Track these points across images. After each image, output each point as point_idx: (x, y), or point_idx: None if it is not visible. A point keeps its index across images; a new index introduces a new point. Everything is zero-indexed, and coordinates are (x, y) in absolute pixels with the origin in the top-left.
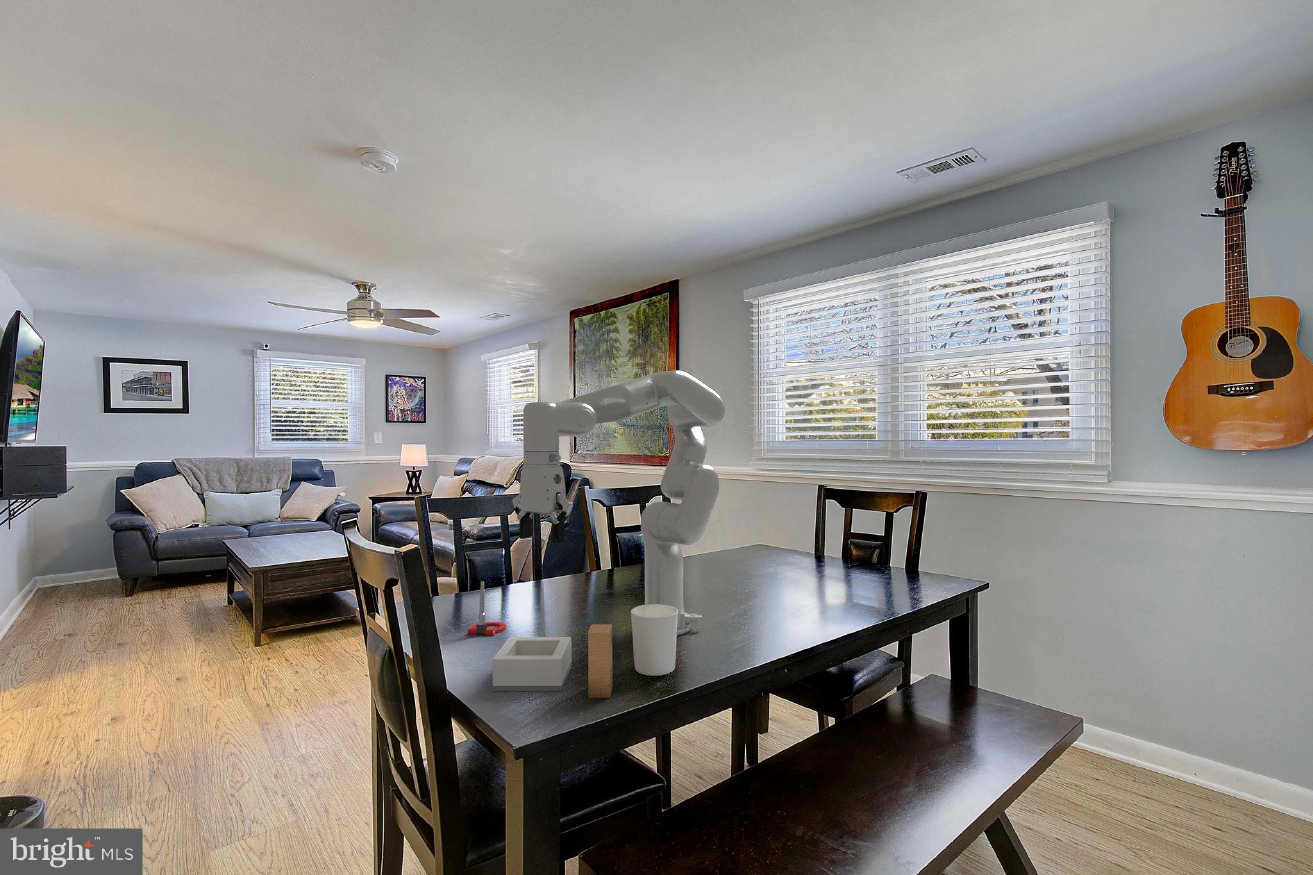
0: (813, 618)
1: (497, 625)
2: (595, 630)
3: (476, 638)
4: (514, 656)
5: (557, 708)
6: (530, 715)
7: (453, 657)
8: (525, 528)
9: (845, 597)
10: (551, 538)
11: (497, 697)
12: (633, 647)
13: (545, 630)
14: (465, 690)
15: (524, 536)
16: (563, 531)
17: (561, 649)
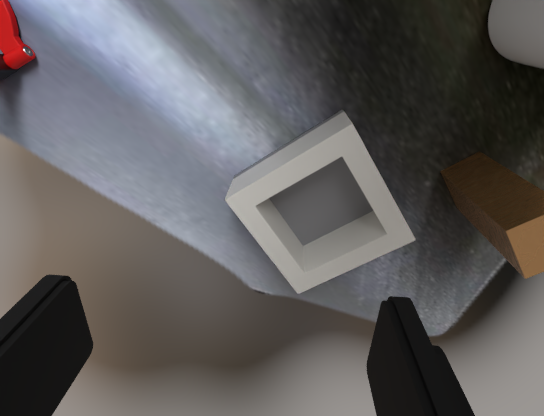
0: None
1: None
2: (538, 261)
3: (28, 94)
4: (322, 269)
5: (428, 256)
6: (404, 286)
7: (112, 198)
8: (47, 388)
9: None
10: (372, 392)
11: None
12: (521, 51)
13: None
14: (259, 275)
15: (84, 342)
16: (457, 388)
17: (383, 200)
